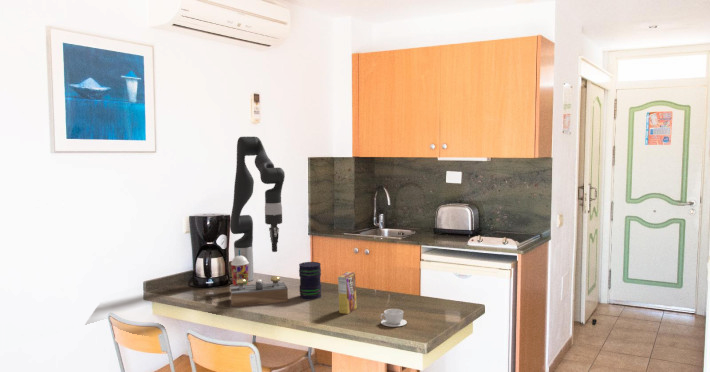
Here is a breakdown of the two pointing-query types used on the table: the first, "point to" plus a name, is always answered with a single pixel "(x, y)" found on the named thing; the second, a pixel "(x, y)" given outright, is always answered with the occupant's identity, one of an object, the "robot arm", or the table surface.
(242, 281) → the knob
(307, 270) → the storage jar
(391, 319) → the teacup
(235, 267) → the smoothie
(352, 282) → the candy box
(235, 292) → the mount
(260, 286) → the cylinder
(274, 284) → the knob
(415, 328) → the table surface
